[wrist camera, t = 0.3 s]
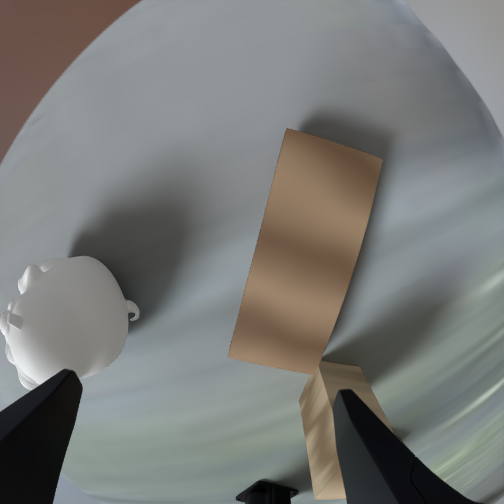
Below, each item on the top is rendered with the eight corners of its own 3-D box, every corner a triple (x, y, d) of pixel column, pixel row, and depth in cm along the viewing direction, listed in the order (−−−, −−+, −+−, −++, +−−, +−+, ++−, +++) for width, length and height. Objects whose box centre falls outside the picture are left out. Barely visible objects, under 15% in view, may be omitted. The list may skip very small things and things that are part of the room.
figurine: (140, 245, 23) (49, 288, 11) (156, 349, 25) (101, 437, 13) (54, 250, 23) (-37, 283, 12) (74, 341, 25) (6, 402, 13)
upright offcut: (340, 405, 25) (369, 496, 14) (299, 400, 25) (314, 499, 14) (359, 366, 25) (405, 457, 13) (316, 360, 24) (346, 460, 13)
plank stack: (310, 358, 24) (316, 379, 21) (230, 342, 24) (226, 361, 21) (370, 164, 21) (386, 160, 18) (283, 137, 21) (286, 128, 18)
